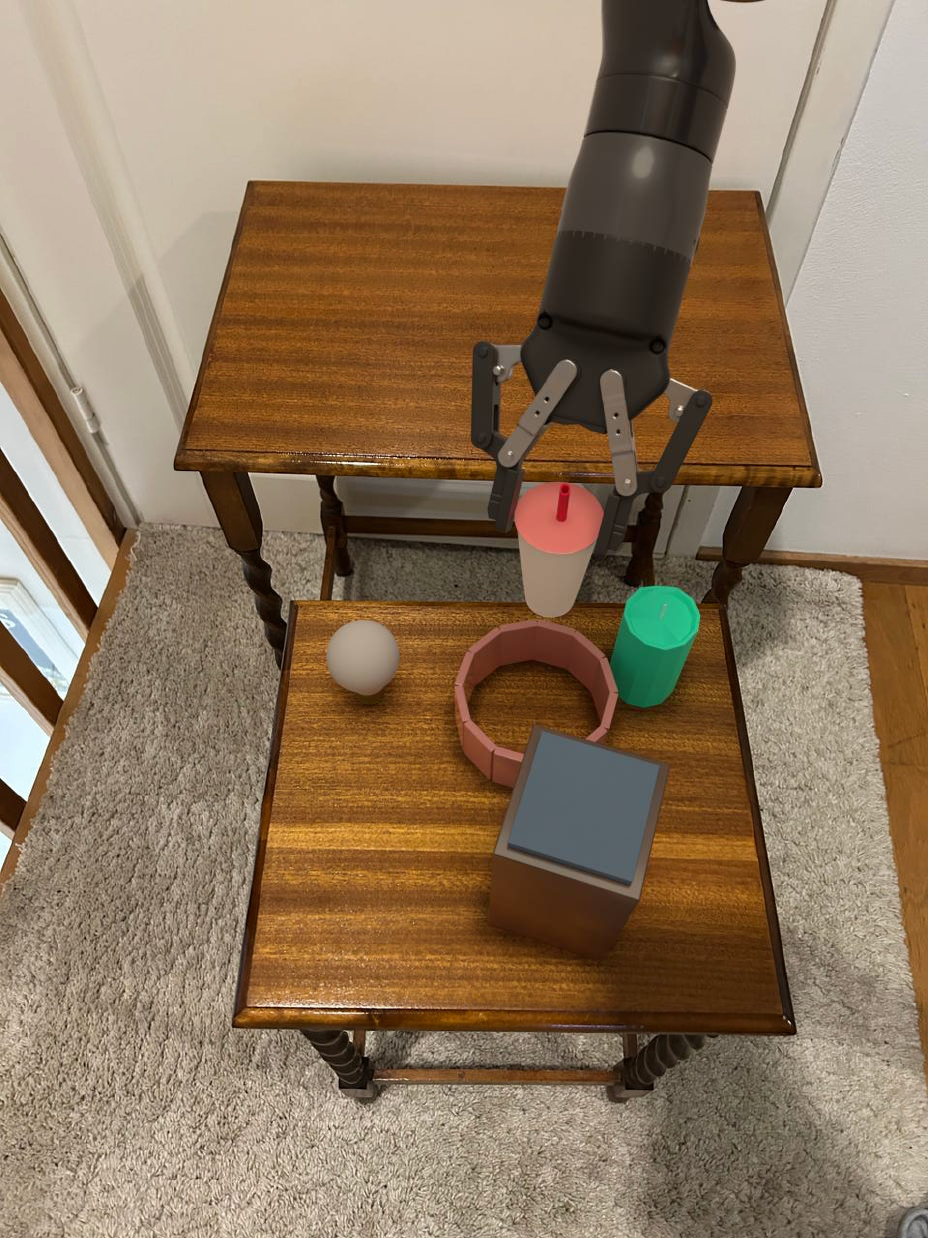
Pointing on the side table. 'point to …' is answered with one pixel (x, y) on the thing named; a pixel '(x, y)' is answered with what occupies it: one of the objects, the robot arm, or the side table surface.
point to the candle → (653, 644)
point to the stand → (565, 879)
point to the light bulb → (363, 659)
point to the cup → (556, 543)
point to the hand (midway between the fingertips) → (551, 541)
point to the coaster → (585, 807)
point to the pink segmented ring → (519, 646)
